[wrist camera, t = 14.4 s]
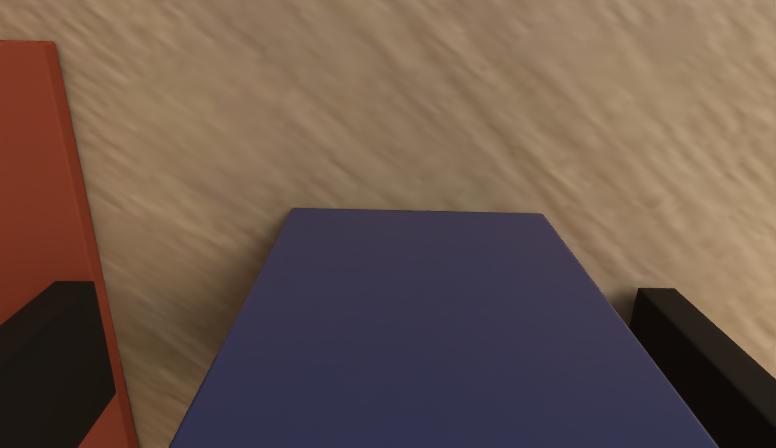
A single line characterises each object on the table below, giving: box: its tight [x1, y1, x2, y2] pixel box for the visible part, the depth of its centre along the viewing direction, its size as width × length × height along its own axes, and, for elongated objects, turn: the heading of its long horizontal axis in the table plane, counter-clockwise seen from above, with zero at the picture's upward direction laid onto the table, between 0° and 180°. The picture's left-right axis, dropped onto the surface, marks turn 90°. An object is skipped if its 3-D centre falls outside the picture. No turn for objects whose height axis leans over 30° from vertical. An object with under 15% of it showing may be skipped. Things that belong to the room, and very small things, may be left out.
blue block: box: [168, 208, 719, 448], centre depth 8 cm, size 5×5×7 cm
